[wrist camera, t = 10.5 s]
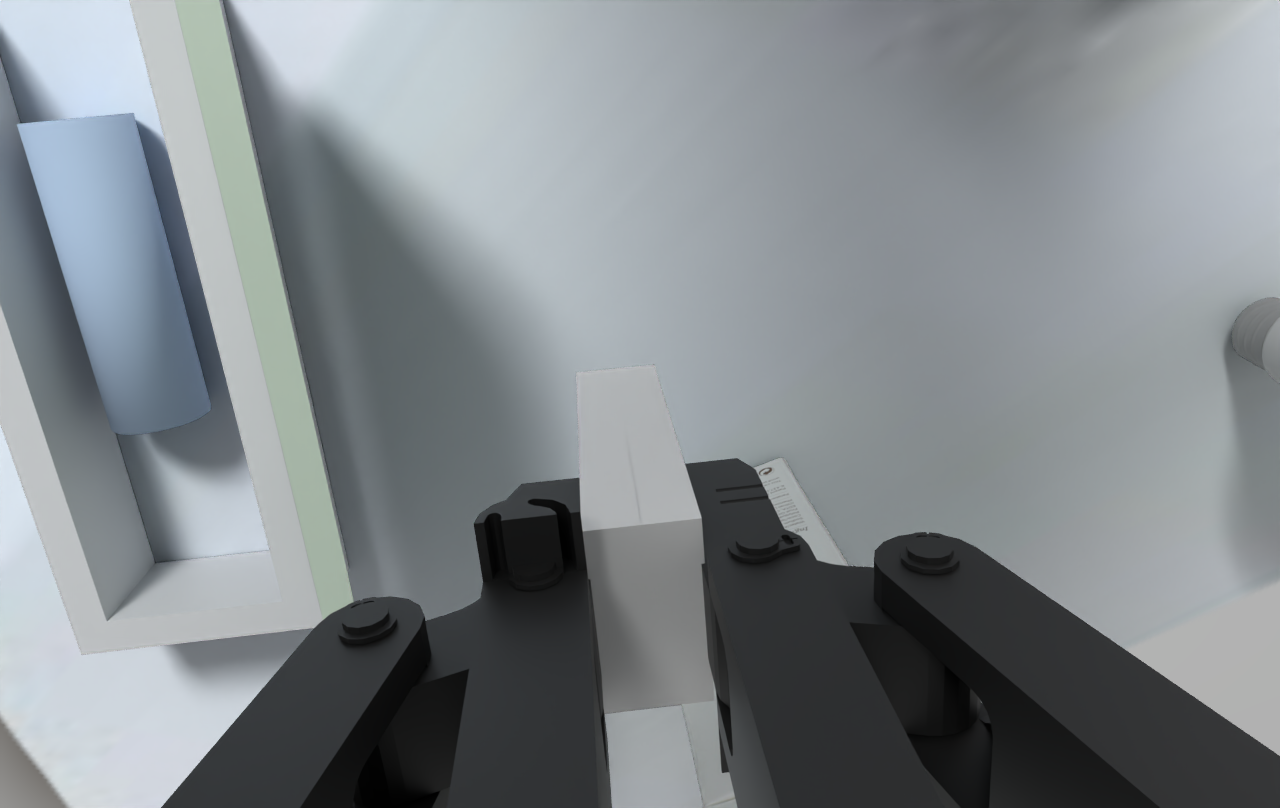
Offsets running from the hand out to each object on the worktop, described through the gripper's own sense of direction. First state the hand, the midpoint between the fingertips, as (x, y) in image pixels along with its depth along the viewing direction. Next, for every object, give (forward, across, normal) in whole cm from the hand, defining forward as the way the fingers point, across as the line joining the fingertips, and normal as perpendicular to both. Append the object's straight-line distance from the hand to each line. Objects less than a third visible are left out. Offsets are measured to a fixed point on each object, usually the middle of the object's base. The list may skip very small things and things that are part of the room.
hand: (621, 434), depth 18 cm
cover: (+8, -9, 0) cm, 12 cm away
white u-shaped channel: (+16, -15, 0) cm, 22 cm away
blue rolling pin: (+16, -15, +2) cm, 22 cm away
